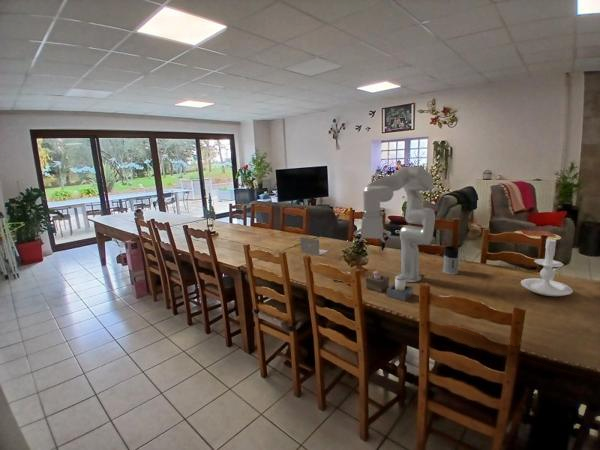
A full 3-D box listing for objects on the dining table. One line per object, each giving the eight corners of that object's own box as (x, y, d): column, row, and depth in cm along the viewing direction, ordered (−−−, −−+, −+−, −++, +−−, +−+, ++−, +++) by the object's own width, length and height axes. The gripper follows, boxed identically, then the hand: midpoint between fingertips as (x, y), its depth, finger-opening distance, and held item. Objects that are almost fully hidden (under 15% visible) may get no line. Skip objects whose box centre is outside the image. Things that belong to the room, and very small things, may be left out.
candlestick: (578, 289, 158) (586, 235, 152) (566, 305, 143) (574, 247, 137) (529, 278, 174) (535, 229, 168) (514, 292, 159) (519, 239, 153)
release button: (375, 280, 176) (375, 270, 175) (383, 282, 173) (383, 271, 172) (371, 282, 173) (371, 272, 172) (379, 284, 170) (379, 274, 169)
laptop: (328, 251, 244) (328, 235, 242) (319, 256, 235) (318, 239, 232) (310, 248, 256) (309, 233, 253) (300, 252, 246) (299, 236, 243)
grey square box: (374, 283, 180) (374, 273, 179) (388, 286, 174) (388, 276, 173) (366, 288, 174) (366, 278, 172) (381, 292, 168) (380, 281, 166)
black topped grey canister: (450, 268, 196) (451, 245, 192) (469, 275, 182) (470, 251, 179) (439, 270, 193) (440, 247, 190) (457, 278, 180) (458, 253, 177)
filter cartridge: (397, 292, 167) (397, 274, 164) (406, 294, 163) (406, 276, 161) (393, 295, 163) (393, 277, 161) (402, 298, 160) (402, 279, 158)
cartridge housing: (395, 289, 170) (395, 282, 169) (413, 294, 163) (413, 286, 163) (386, 296, 163) (386, 289, 162) (405, 301, 156) (405, 293, 155)
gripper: (391, 212, 147) (391, 247, 151) (355, 212, 153) (355, 246, 157) (390, 216, 140) (390, 252, 144) (352, 215, 146) (353, 250, 150)
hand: (372, 249), depth 150 cm, fingers open, 9 cm apart
